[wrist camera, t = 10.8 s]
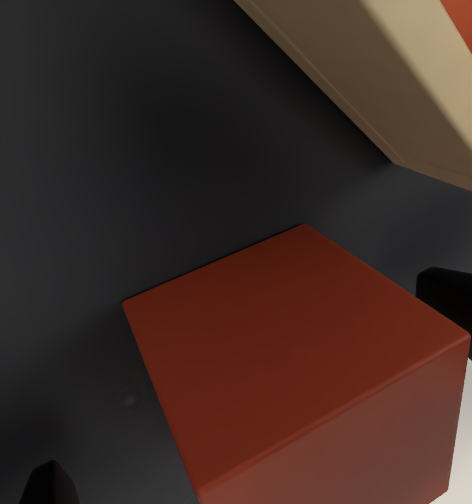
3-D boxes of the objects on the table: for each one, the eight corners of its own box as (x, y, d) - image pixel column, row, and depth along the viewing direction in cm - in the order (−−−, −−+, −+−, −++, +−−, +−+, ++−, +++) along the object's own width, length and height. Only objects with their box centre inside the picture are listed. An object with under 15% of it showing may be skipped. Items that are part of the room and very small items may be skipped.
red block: (178, 431, 11) (258, 626, 7) (120, 300, 9) (195, 496, 5) (321, 354, 12) (449, 491, 9) (304, 221, 10) (473, 332, 6)
